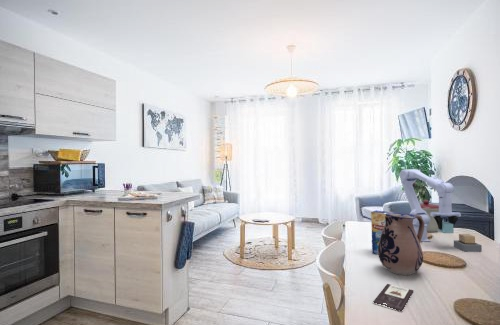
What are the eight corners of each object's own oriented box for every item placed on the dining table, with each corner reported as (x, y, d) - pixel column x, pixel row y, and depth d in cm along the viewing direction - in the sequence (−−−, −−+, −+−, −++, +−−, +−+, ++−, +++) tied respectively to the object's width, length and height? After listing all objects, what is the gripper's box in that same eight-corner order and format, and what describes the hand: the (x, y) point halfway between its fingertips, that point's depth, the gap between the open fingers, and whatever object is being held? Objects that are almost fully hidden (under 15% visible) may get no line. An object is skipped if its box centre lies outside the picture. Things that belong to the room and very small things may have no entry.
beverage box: (394, 258, 137) (393, 214, 137) (372, 253, 145) (371, 212, 145) (398, 254, 142) (397, 212, 142) (376, 250, 149) (375, 210, 149)
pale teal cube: (443, 233, 148) (443, 224, 148) (438, 230, 153) (438, 222, 153) (453, 233, 147) (453, 224, 147) (448, 231, 152) (447, 222, 152)
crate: (463, 251, 144) (463, 244, 144) (453, 246, 153) (453, 240, 153) (481, 251, 143) (481, 245, 143) (470, 246, 152) (470, 240, 152)
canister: (448, 234, 178) (447, 201, 178) (418, 233, 181) (417, 201, 181) (434, 227, 196) (433, 198, 196) (407, 227, 199) (406, 198, 199)
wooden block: (465, 249, 146) (464, 236, 146) (459, 246, 151) (458, 233, 151) (475, 249, 145) (474, 236, 145) (469, 246, 150) (468, 234, 150)
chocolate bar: (372, 302, 94) (387, 283, 108) (372, 304, 94) (387, 286, 108) (401, 310, 88) (413, 290, 102) (402, 313, 88) (413, 292, 102)
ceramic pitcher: (369, 267, 126) (368, 213, 126) (403, 260, 133) (401, 209, 133) (402, 282, 109) (401, 220, 109) (439, 274, 117) (437, 215, 117)
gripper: (434, 206, 147) (435, 231, 147) (464, 206, 145) (464, 231, 145) (428, 204, 154) (428, 228, 154) (456, 204, 152) (456, 228, 152)
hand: (445, 229), depth 150 cm, fingers closed on pale teal cube, 5 cm apart
